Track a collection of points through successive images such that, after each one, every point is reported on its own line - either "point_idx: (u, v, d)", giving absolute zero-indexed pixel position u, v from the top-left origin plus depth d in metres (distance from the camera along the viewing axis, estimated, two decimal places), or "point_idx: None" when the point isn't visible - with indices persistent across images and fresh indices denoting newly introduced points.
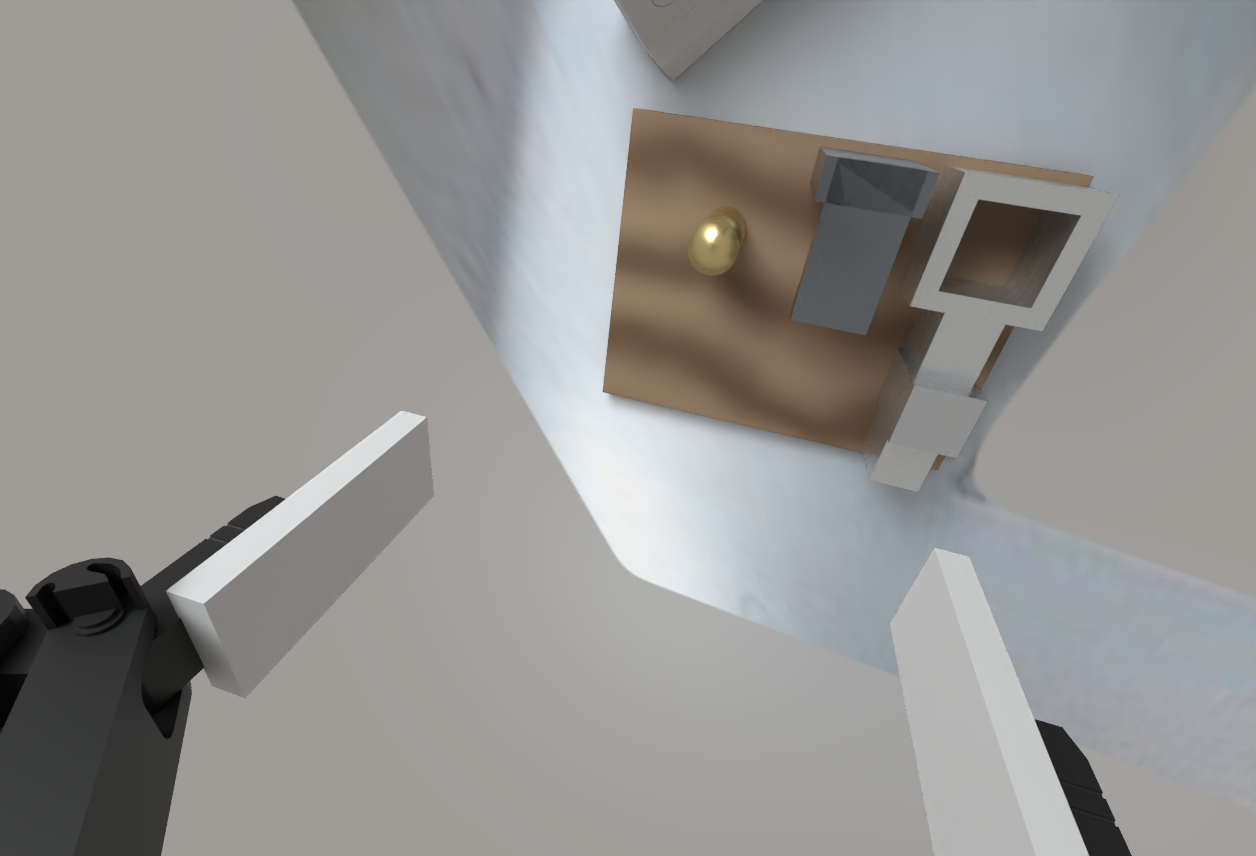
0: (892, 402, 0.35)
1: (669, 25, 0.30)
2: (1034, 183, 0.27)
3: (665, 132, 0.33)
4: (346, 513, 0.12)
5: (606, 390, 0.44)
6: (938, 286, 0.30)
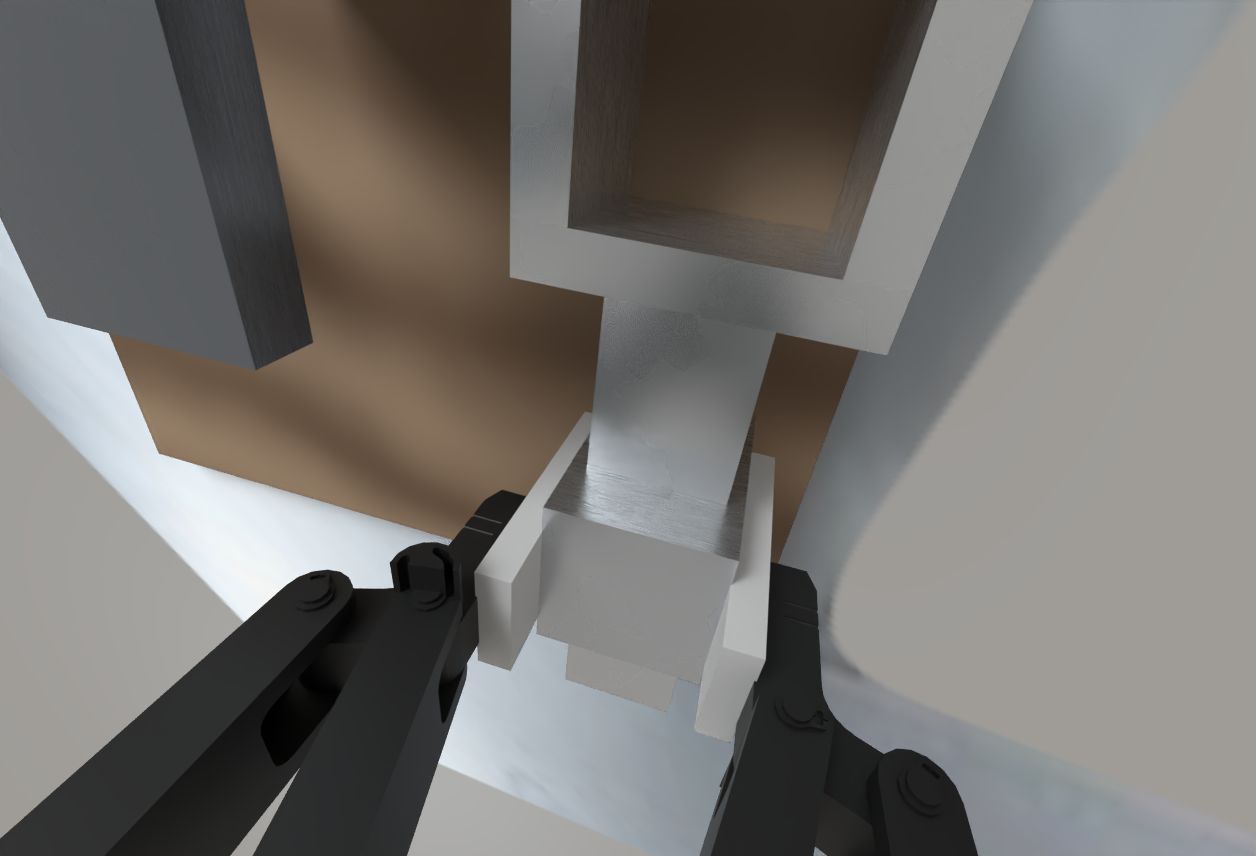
0: None
1: None
2: None
3: None
4: None
5: (162, 450, 0.23)
6: (562, 212, 0.09)
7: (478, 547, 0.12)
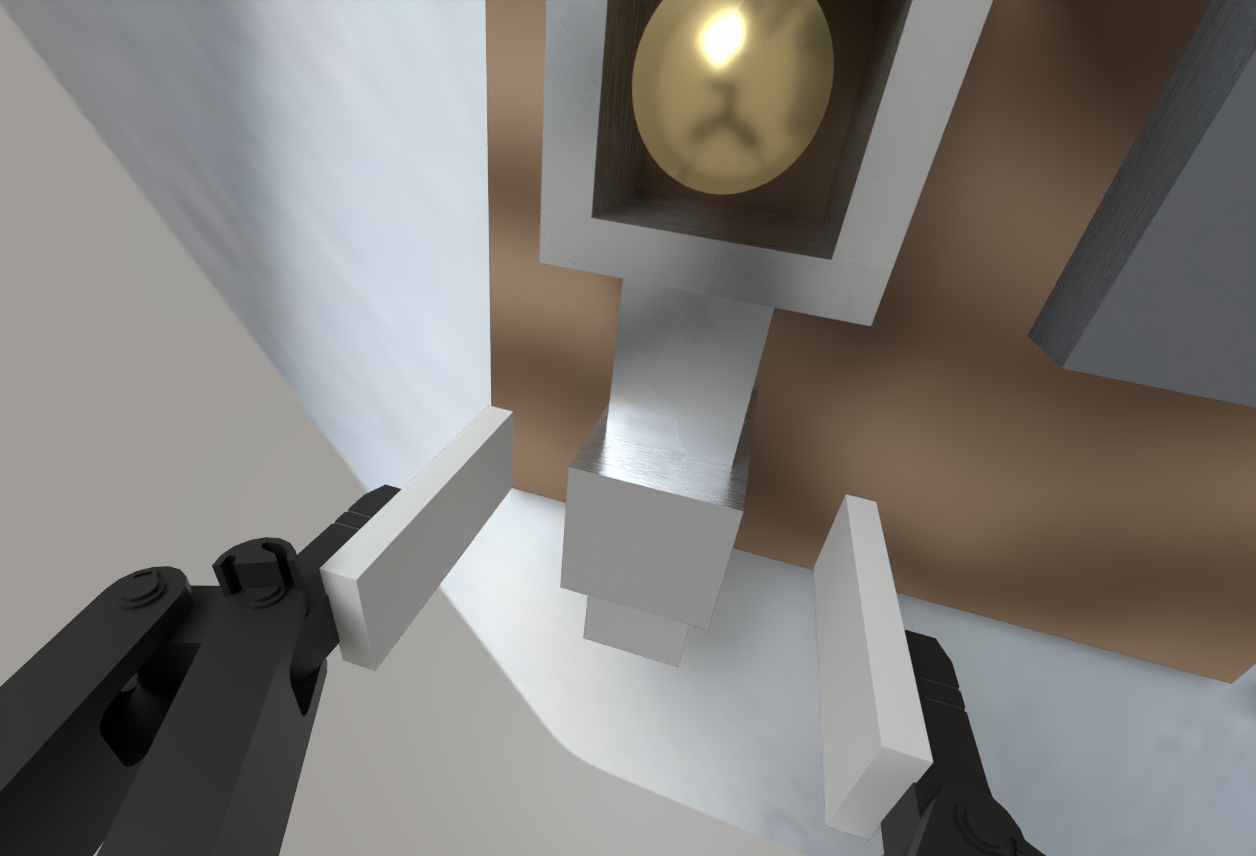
0: None
1: None
2: None
3: None
4: (453, 501, 0.13)
5: None
6: (587, 204, 0.11)
7: (343, 543, 0.11)
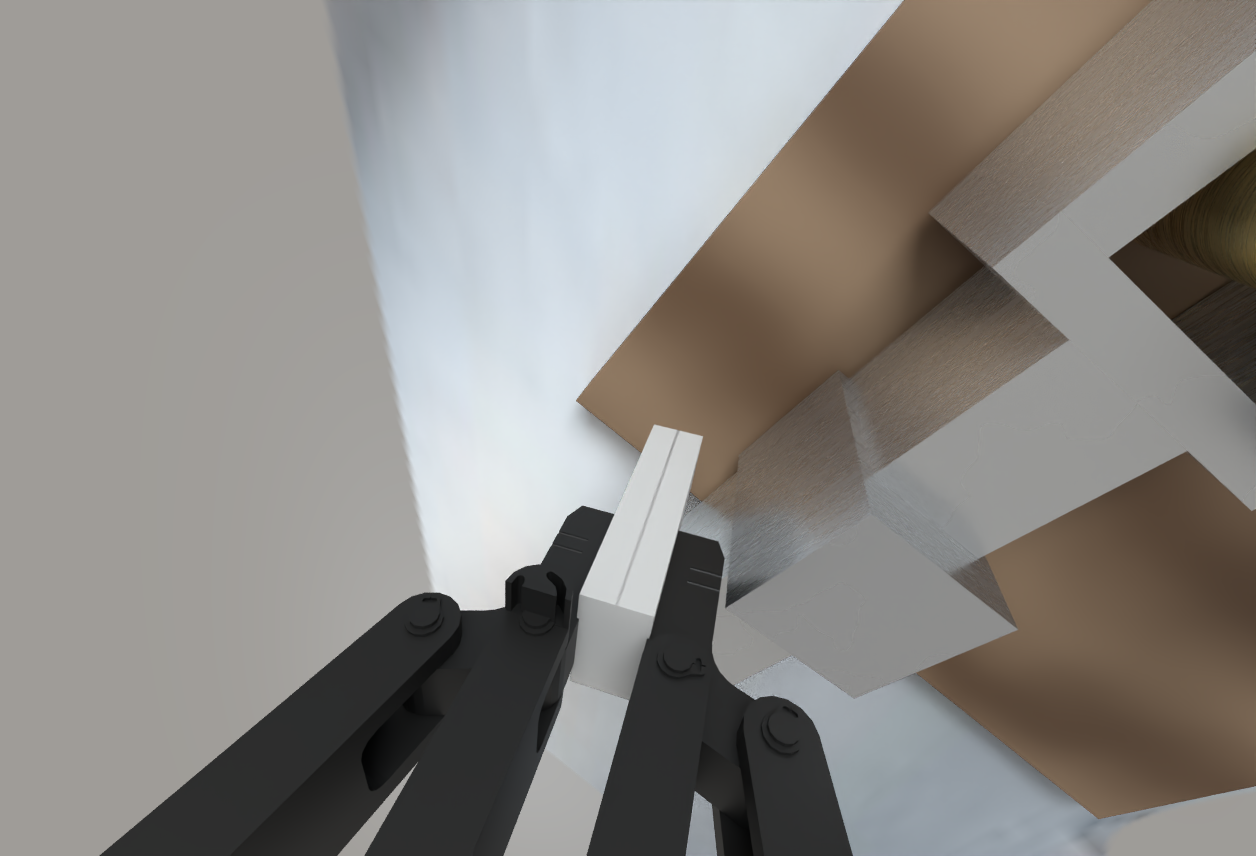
0: (776, 499, 0.13)
1: None
2: None
3: None
4: None
5: (586, 402, 0.18)
6: (1121, 240, 0.08)
7: (570, 566, 0.11)
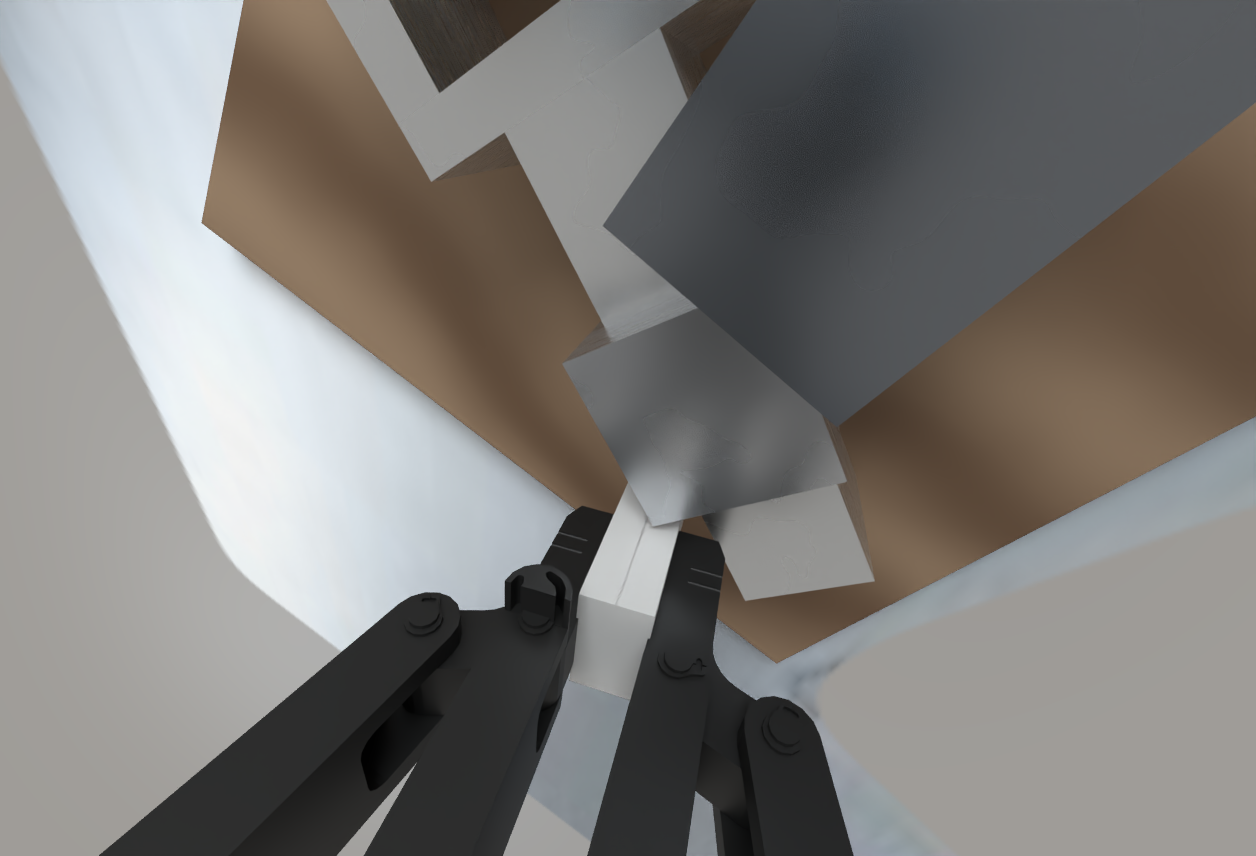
0: None
1: None
2: None
3: None
4: None
5: (210, 223, 0.18)
6: (427, 82, 0.10)
7: (569, 566, 0.11)
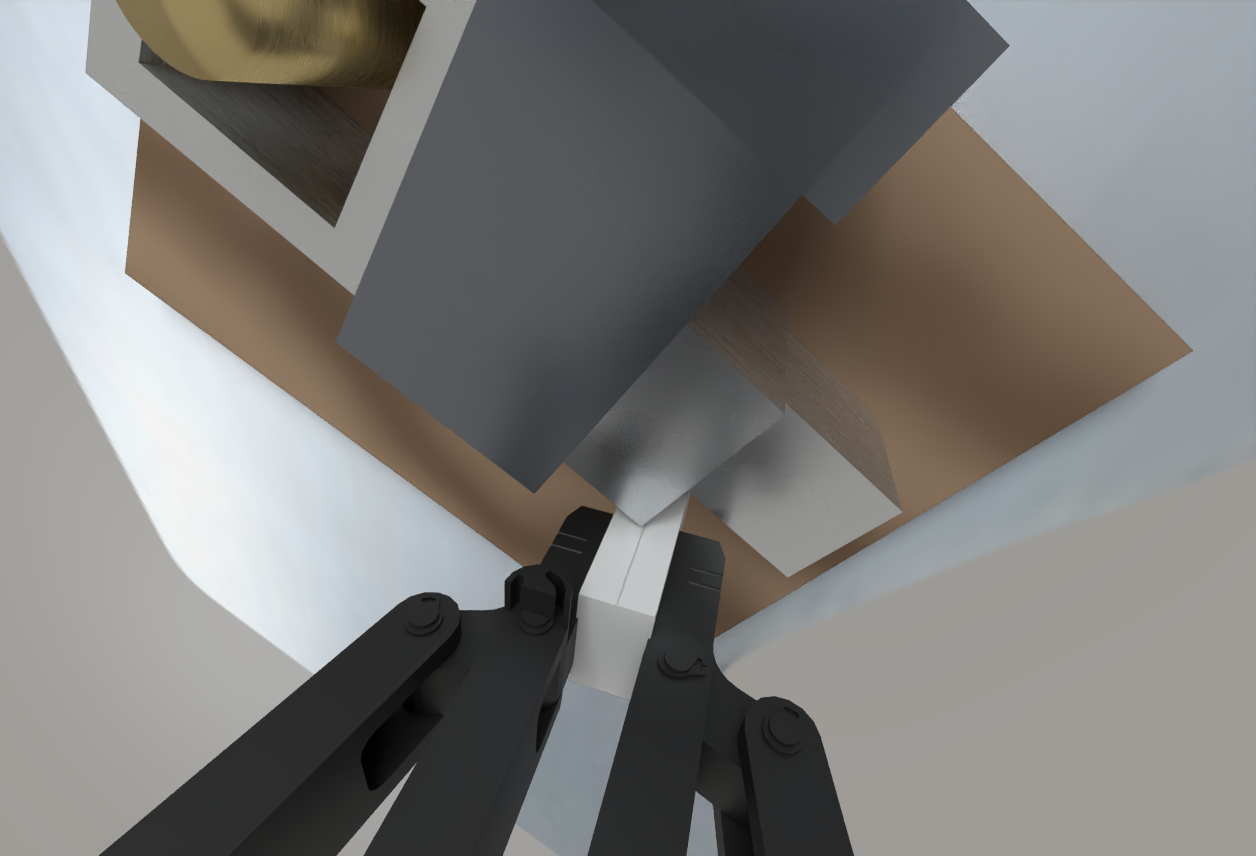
0: None
1: None
2: None
3: None
4: None
5: (132, 273, 0.20)
6: (323, 224, 0.12)
7: (569, 566, 0.11)
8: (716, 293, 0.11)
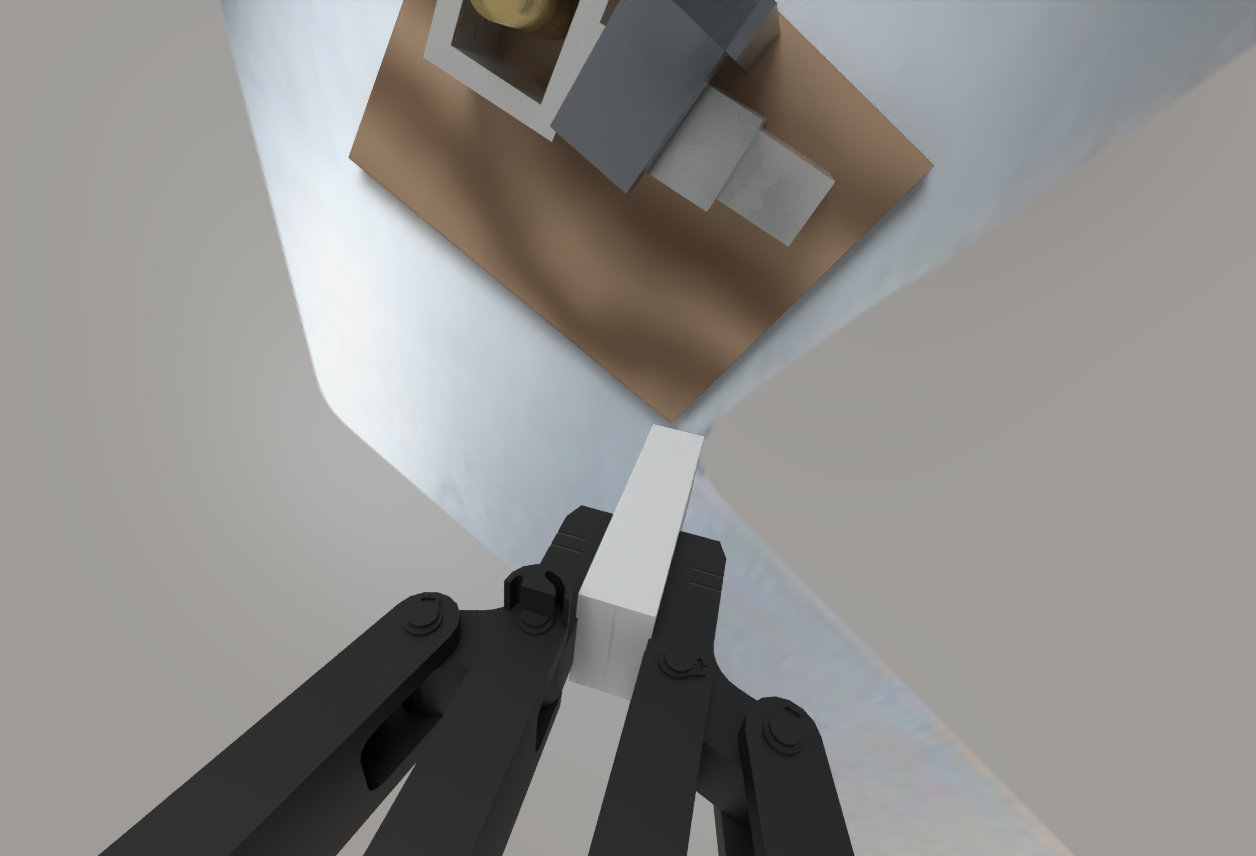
0: None
1: None
2: None
3: None
4: None
5: (353, 157, 0.33)
6: (535, 104, 0.25)
7: (569, 566, 0.11)
8: (725, 93, 0.23)
